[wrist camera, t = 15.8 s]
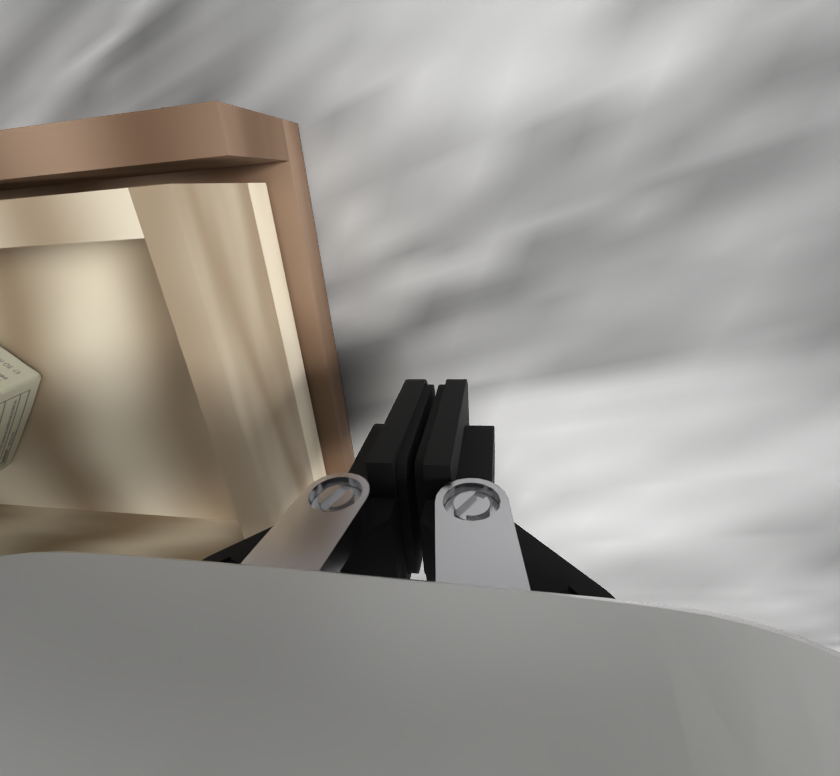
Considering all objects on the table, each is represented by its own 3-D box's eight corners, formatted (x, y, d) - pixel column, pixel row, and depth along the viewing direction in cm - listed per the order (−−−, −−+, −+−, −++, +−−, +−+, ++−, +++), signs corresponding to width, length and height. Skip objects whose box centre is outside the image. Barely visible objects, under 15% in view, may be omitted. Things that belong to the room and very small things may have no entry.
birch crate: (266, 183, 12) (169, 183, 9) (337, 528, 18) (296, 614, 14) (-221, 228, 16) (-426, 241, 13) (-38, 501, 22) (-144, 564, 18)
